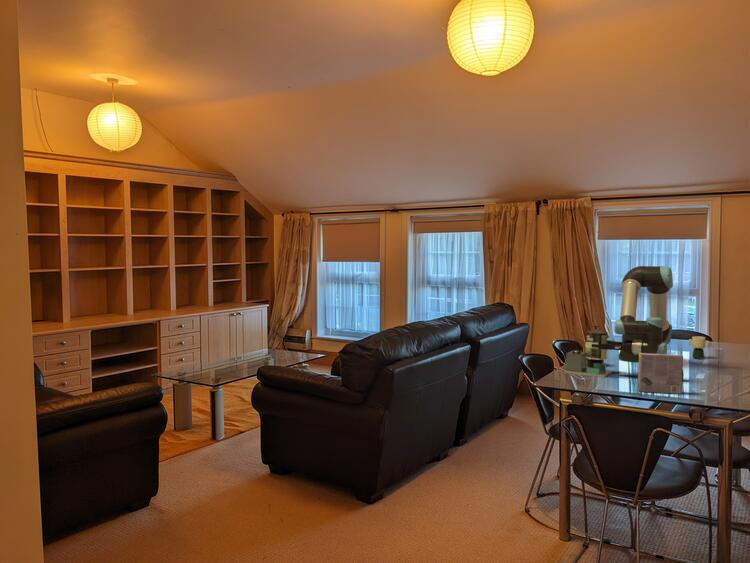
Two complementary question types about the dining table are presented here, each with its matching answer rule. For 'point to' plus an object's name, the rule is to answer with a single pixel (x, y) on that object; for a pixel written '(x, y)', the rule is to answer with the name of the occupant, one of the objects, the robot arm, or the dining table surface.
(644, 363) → the cake pan box
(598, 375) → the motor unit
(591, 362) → the french press
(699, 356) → the character mug
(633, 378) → the dining table surface
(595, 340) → the coffee can
